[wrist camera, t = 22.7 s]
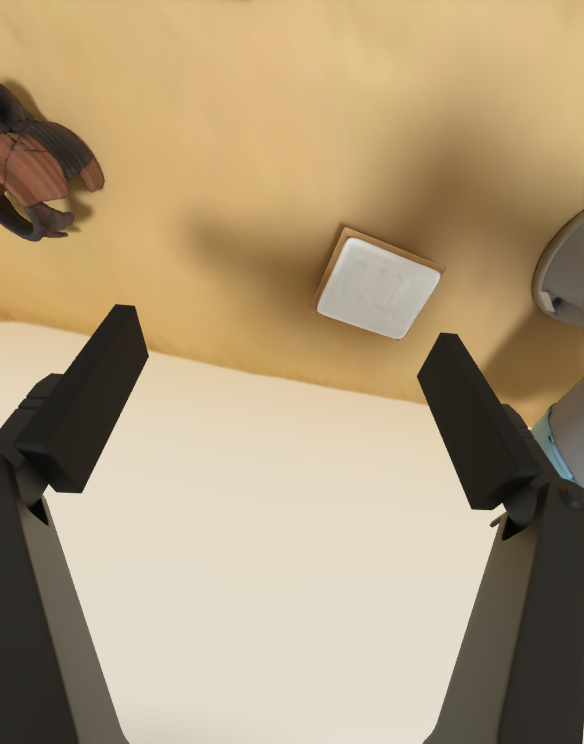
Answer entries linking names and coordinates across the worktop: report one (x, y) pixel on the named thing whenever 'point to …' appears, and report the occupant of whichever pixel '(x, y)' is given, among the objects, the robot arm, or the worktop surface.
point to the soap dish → (374, 285)
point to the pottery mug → (38, 170)
